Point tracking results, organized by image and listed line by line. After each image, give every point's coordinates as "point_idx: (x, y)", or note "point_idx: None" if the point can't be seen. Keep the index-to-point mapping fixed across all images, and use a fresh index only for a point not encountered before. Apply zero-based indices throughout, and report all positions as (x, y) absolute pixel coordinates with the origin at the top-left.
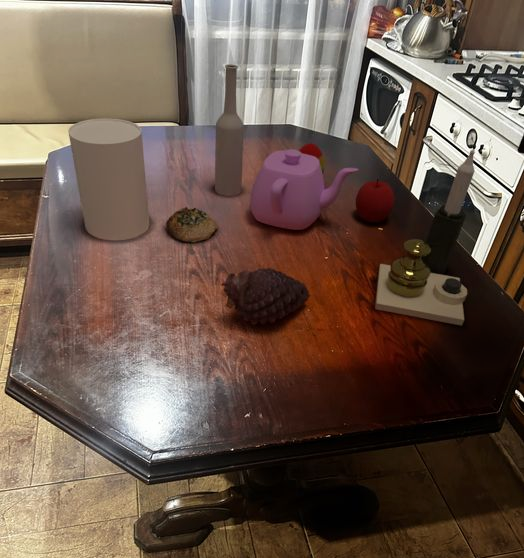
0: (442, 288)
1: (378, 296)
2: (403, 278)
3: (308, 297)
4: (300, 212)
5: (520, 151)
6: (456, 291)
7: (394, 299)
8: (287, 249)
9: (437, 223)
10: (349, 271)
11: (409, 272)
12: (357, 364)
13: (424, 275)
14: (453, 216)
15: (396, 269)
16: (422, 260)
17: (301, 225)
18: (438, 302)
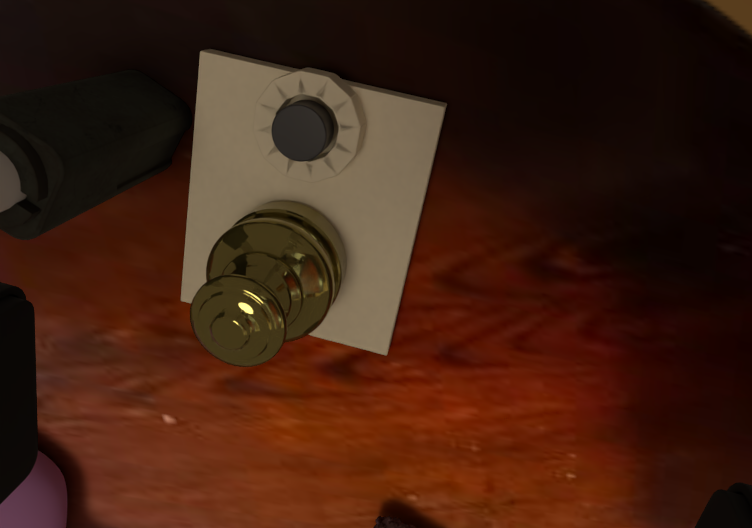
0: None
1: (353, 343)
2: (325, 316)
3: (391, 517)
4: (35, 521)
5: (29, 461)
6: (329, 121)
7: (361, 302)
8: (155, 501)
9: (61, 218)
10: (220, 373)
11: (311, 309)
12: (624, 432)
13: (311, 257)
14: (39, 186)
15: (292, 338)
16: (256, 270)
17: (58, 484)
18: (358, 170)
